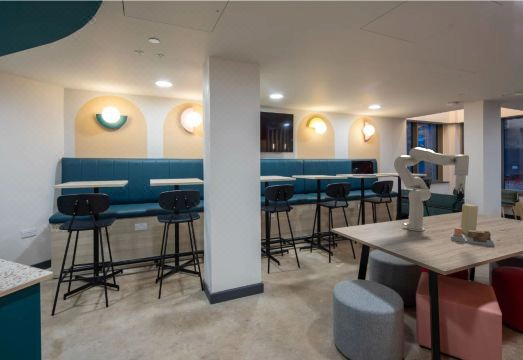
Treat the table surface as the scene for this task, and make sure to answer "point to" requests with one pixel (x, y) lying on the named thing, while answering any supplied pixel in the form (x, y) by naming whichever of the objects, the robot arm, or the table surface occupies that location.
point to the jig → (471, 240)
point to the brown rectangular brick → (458, 232)
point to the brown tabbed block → (479, 235)
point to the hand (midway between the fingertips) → (459, 198)
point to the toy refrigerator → (469, 217)
